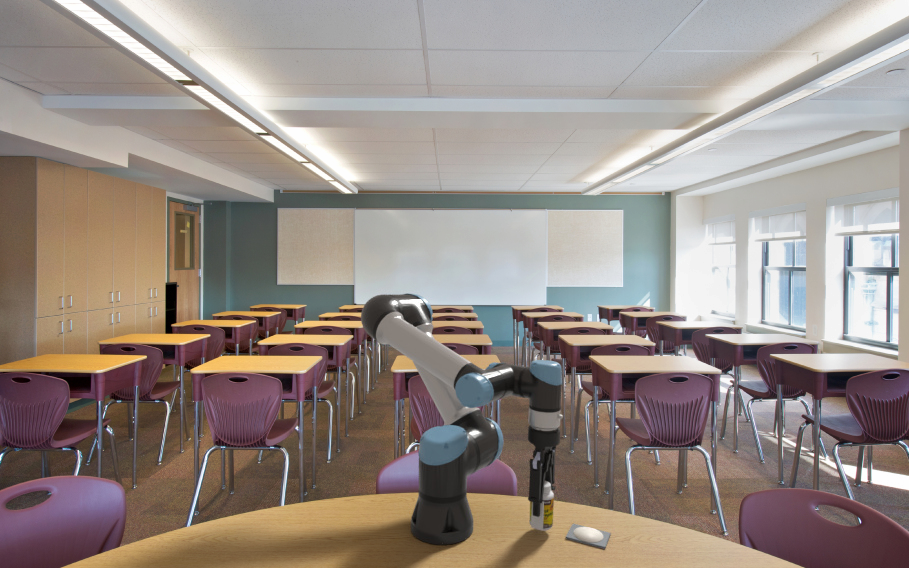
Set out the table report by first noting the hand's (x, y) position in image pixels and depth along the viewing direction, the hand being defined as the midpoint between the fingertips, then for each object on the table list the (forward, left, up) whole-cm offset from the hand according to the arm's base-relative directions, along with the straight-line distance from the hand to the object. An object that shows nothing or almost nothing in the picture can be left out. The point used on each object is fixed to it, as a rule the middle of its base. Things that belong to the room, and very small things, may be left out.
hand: (541, 522), depth 115 cm
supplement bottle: (0, 0, -1) cm, 1 cm away
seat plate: (+10, +3, -2) cm, 11 cm away
